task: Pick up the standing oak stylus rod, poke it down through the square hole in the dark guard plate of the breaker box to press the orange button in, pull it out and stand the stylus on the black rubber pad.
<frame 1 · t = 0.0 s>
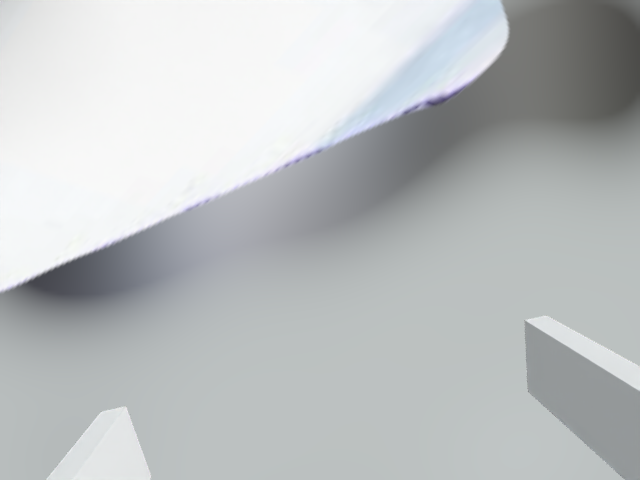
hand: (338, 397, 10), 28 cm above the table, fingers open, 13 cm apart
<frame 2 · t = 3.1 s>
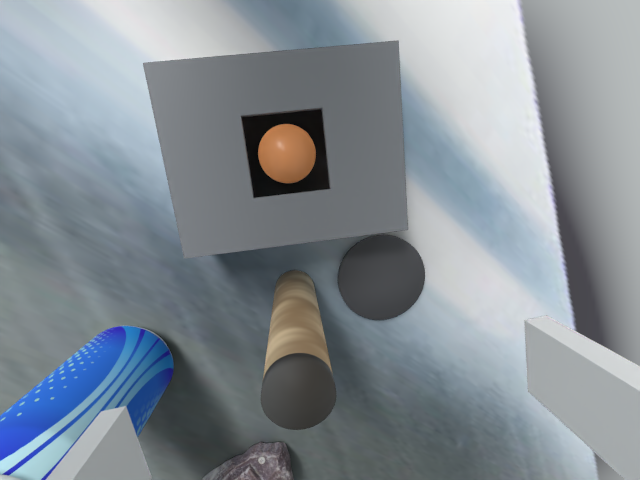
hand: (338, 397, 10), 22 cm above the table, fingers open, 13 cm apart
stylus: (294, 289, 32), on the table
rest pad: (380, 277, 33), on the table
breaker box: (287, 157, 30), on the table
rock: (248, 473, 37), on the table
breaker button: (287, 154, 25), point 5 cm above the table, slide at 0.0 cm
beer can: (136, 356, 32), on the table
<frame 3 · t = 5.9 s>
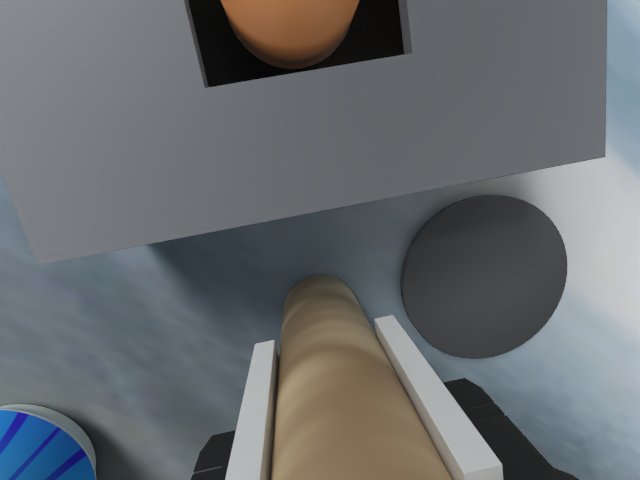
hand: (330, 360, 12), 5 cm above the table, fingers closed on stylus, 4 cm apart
stylus: (320, 310, 17), on the table, touching gripper
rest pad: (480, 278, 17), on the table
breaker box: (290, 42, 14), on the table
beer can: (31, 456, 17), on the table
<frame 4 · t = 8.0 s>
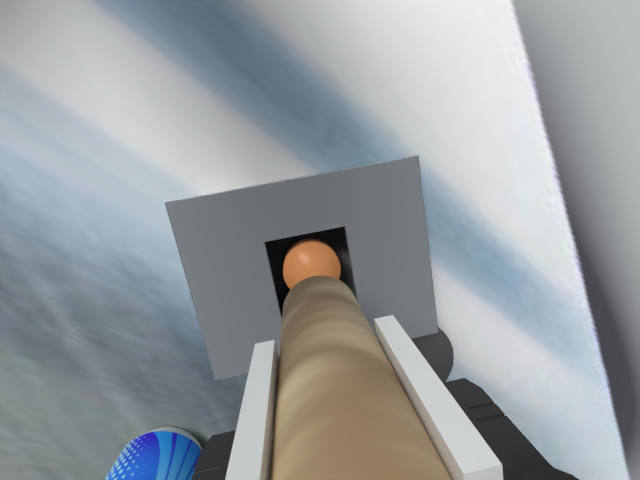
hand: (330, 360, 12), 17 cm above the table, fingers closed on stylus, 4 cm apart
stylus: (320, 311, 17), point 13 cm above the table, touching gripper
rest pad: (408, 359, 32), on the table
breaker box: (308, 253, 29), on the table
breaker button: (311, 267, 25), point 5 cm above the table, slide at 0.0 cm
beer can: (169, 454, 32), on the table
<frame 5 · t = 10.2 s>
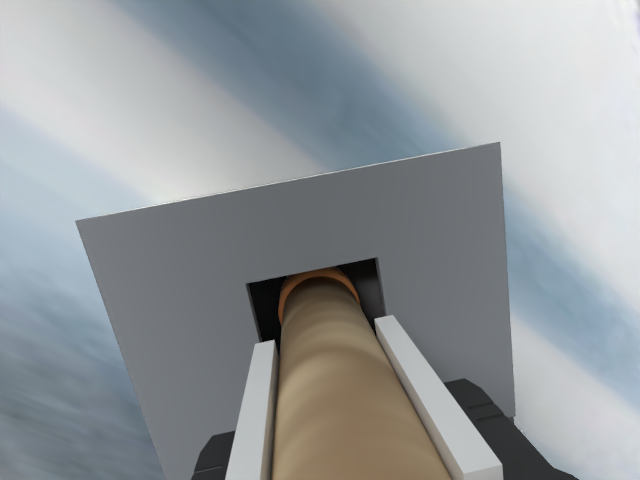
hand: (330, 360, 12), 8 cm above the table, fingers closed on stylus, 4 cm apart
stylus: (320, 311, 17), point 4 cm above the table, touching breaker button, gripper
breaker box: (314, 286, 20), on the table
breaker button: (318, 303, 18), point 3 cm above the table, slide at 1.8 cm, touching stylus
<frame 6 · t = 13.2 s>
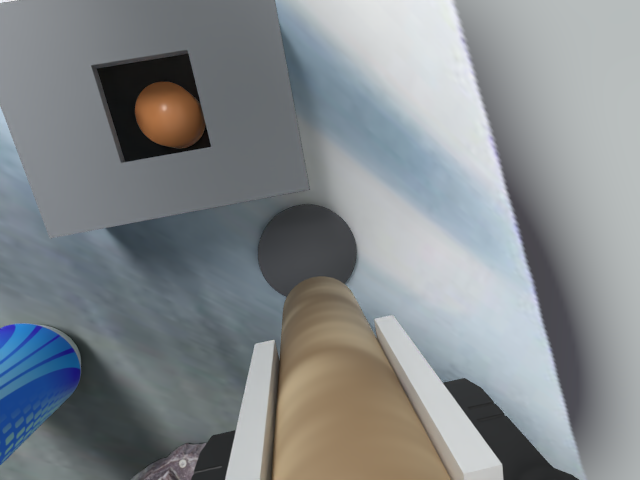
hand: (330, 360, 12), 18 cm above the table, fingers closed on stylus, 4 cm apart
stylus: (320, 312, 17), point 13 cm above the table, touching gripper
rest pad: (307, 252, 29), on the table
breaker box: (184, 122, 26), on the table
rock: (177, 478, 33), on the table
breaker button: (172, 116, 24), point 3 cm above the table, slide at 1.8 cm
beer can: (43, 357, 29), on the table
when the fingers open (6 cm above the table, at t = 15.4 s): stylus stays where it is, resting on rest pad.
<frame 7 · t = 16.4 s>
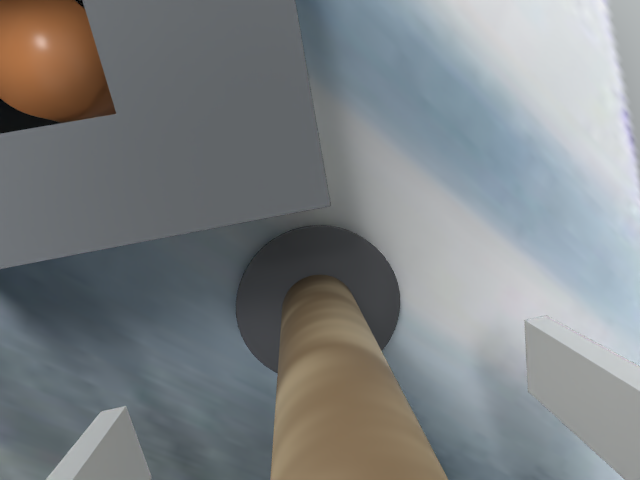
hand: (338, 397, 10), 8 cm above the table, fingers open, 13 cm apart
stylus: (318, 309, 17), point 1 cm above the table, touching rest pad
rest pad: (318, 304, 18), on the table
breaker box: (101, 82, 15), on the table
breaker button: (58, 62, 12), point 3 cm above the table, slide at 1.8 cm
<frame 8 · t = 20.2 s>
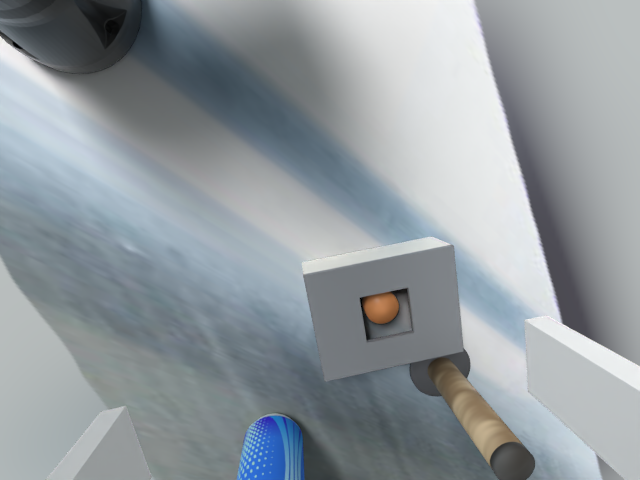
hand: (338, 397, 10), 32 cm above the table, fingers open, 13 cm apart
stylus: (440, 369, 46), point 1 cm above the table, touching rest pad
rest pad: (439, 366, 47), on the table
breaker box: (374, 297, 44), on the table
breaker button: (380, 304, 41), point 3 cm above the table, slide at 1.8 cm
beer can: (274, 432, 47), on the table
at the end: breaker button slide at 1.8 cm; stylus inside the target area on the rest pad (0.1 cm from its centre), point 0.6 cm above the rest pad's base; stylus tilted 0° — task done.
